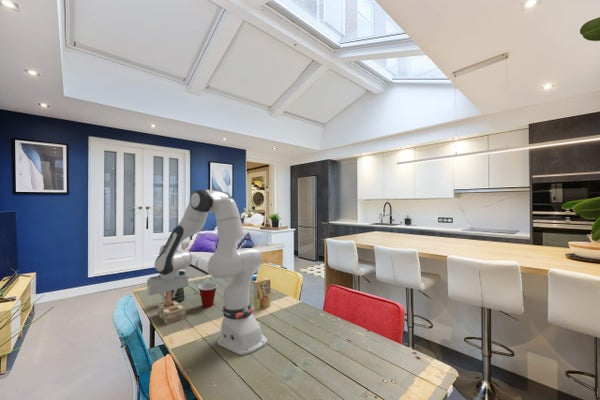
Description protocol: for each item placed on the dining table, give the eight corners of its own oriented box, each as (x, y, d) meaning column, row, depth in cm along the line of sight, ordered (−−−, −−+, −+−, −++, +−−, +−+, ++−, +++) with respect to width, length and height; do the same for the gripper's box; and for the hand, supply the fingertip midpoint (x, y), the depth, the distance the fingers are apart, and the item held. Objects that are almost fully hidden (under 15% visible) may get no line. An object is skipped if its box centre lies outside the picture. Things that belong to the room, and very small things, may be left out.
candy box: (267, 303, 151) (266, 277, 151) (270, 305, 148) (270, 279, 148) (253, 307, 146) (253, 281, 146) (257, 310, 142) (257, 282, 142)
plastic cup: (204, 311, 142) (204, 289, 142) (194, 306, 149) (194, 286, 149) (221, 304, 151) (221, 284, 151) (211, 300, 158) (210, 281, 158)
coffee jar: (172, 305, 151) (171, 274, 151) (164, 302, 155) (164, 272, 155) (187, 299, 159) (186, 270, 159) (179, 297, 163) (179, 268, 164)
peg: (172, 309, 140) (172, 287, 140) (166, 311, 138) (166, 289, 138) (170, 308, 142) (170, 286, 142) (165, 309, 140) (164, 287, 140)
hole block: (185, 318, 134) (185, 308, 134) (167, 324, 128) (167, 314, 128) (175, 309, 146) (175, 300, 146) (157, 314, 139) (157, 305, 139)
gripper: (148, 279, 130) (149, 306, 130) (189, 270, 144) (189, 295, 144) (145, 276, 135) (145, 302, 135) (185, 268, 149) (185, 292, 149)
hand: (168, 298), depth 140 cm, fingers closed on peg, 3 cm apart
